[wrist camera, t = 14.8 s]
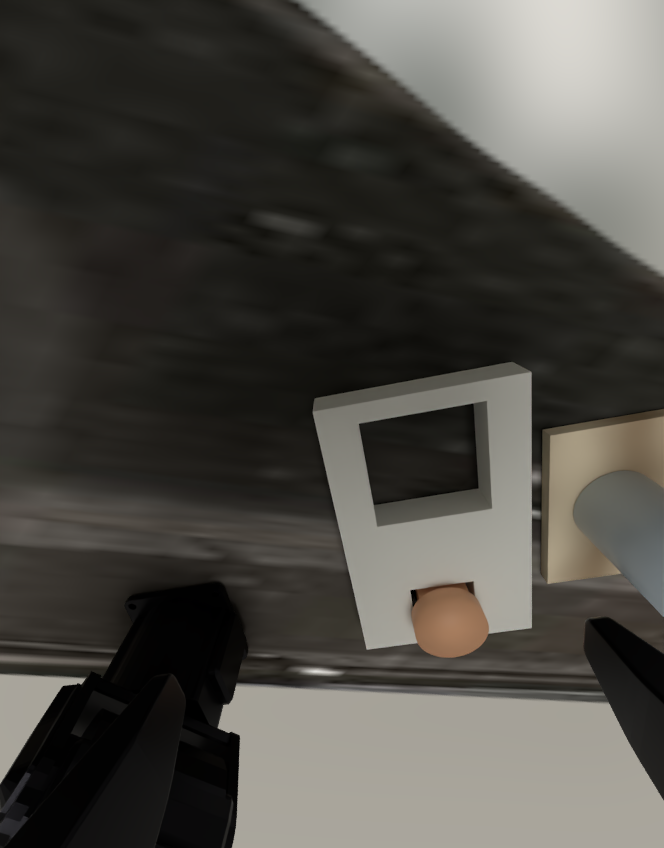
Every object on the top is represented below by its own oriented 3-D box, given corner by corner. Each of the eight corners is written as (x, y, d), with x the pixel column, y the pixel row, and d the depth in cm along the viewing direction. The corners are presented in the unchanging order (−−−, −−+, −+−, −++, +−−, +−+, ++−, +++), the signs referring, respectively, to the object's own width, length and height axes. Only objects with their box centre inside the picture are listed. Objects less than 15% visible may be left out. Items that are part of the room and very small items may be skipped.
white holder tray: (364, 622, 26) (367, 649, 24) (314, 398, 20) (312, 412, 18) (516, 601, 25) (531, 627, 23) (512, 361, 19) (531, 372, 17)
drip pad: (541, 574, 24) (547, 583, 23) (542, 429, 20) (550, 435, 20) (658, 557, 23) (668, 566, 23) (681, 405, 20) (695, 411, 19)
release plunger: (409, 617, 25) (419, 661, 22) (402, 569, 23) (411, 610, 20) (472, 608, 24) (490, 652, 22) (468, 559, 23) (487, 599, 20)
